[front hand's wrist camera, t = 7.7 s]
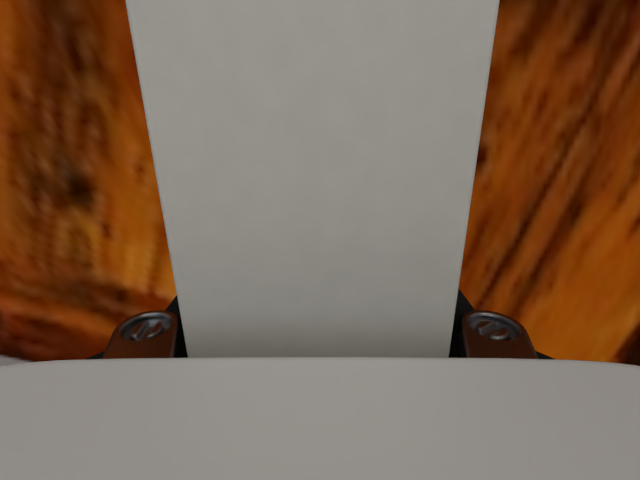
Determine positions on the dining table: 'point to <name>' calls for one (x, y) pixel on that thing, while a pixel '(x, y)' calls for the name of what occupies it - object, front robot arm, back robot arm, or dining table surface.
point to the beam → (315, 167)
